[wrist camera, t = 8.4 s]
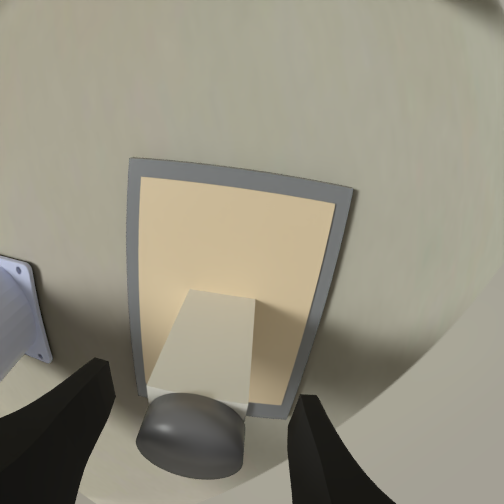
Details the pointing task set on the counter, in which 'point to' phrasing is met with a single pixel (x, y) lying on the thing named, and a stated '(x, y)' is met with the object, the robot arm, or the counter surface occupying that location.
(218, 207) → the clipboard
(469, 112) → the counter surface
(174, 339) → the block with domed cap
